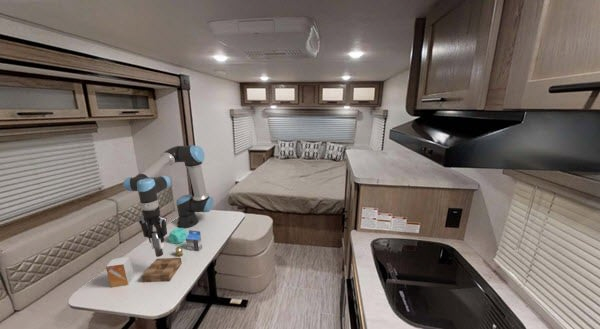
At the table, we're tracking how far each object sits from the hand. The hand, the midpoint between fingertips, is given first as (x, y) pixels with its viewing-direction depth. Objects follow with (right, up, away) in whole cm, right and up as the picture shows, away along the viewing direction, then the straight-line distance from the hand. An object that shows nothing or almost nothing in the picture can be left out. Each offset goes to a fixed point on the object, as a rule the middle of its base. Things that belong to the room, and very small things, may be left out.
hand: (158, 247), depth 121 cm
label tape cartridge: (+8, -11, +25) cm, 28 cm away
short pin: (+2, -12, +19) cm, 23 cm away
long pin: (0, -5, +1) cm, 5 cm away
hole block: (0, -16, +4) cm, 16 cm away
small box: (-17, -18, -2) cm, 25 cm away
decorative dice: (-7, -8, +34) cm, 36 cm away
